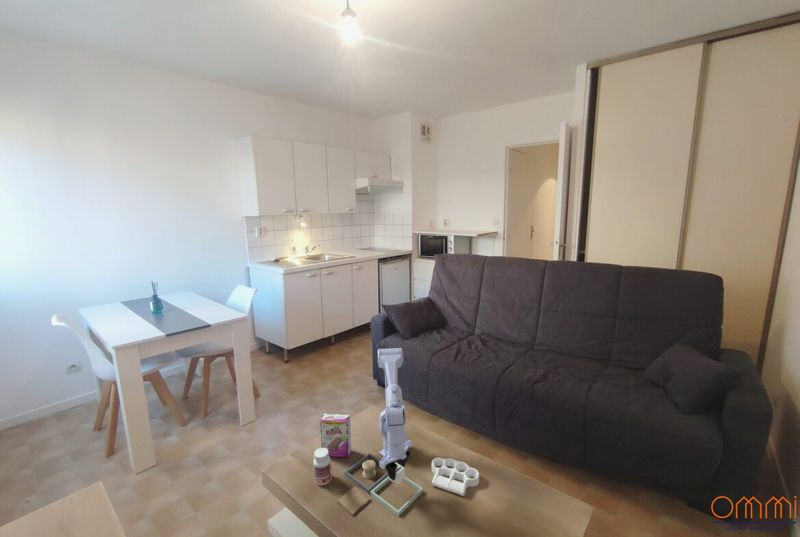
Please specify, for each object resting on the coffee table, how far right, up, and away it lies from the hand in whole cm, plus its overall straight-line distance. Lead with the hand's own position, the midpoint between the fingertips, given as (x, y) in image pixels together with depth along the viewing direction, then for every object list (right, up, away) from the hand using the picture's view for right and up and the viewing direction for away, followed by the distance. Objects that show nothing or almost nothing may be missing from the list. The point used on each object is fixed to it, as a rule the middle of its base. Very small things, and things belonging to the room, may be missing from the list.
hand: (396, 474), depth 121 cm
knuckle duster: (+21, -6, +8) cm, 23 cm away
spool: (-10, -6, +11) cm, 16 cm away
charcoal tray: (-10, -6, +11) cm, 16 cm away
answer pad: (-15, -8, -2) cm, 17 cm away
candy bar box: (-25, -4, +22) cm, 33 cm away
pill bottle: (-27, -7, +8) cm, 29 cm away
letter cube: (0, -1, 0) cm, 2 cm away
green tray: (0, -7, +1) cm, 8 cm away
